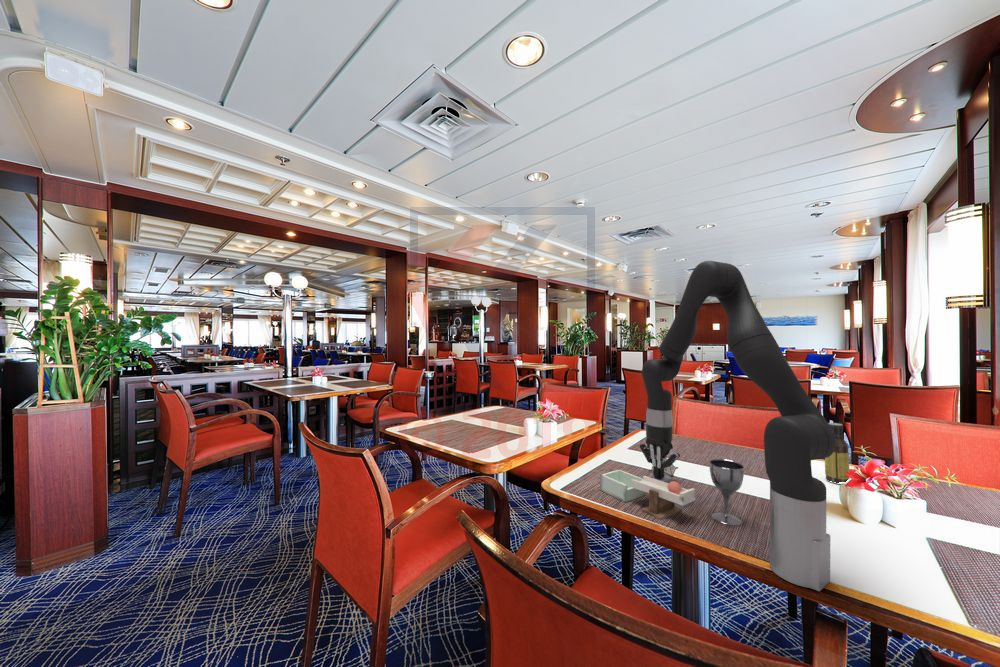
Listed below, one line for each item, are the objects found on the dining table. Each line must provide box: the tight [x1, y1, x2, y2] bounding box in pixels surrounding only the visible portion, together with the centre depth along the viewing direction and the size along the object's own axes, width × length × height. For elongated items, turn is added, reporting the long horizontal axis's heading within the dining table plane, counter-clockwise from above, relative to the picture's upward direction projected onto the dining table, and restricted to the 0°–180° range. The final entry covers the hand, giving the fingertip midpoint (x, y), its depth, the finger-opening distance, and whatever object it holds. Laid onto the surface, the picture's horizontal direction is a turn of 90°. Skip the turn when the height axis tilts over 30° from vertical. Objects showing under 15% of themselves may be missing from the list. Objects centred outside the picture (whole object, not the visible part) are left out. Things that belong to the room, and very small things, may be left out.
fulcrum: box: [641, 489, 683, 521], centre depth 105 cm, size 6×10×6 cm, turn 122°
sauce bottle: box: [824, 422, 850, 483], centre depth 126 cm, size 6×6×20 cm
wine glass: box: [709, 458, 745, 526], centre depth 100 cm, size 8×8×15 cm
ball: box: [668, 480, 682, 494], centre depth 102 cm, size 3×3×3 cm
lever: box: [632, 475, 696, 510], centre depth 107 cm, size 16×14×4 cm
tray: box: [599, 469, 646, 503], centre depth 117 cm, size 10×9×5 cm
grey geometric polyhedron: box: [648, 458, 679, 478], centre depth 126 cm, size 9×8×10 cm
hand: (658, 478), depth 114 cm, fingers closed
